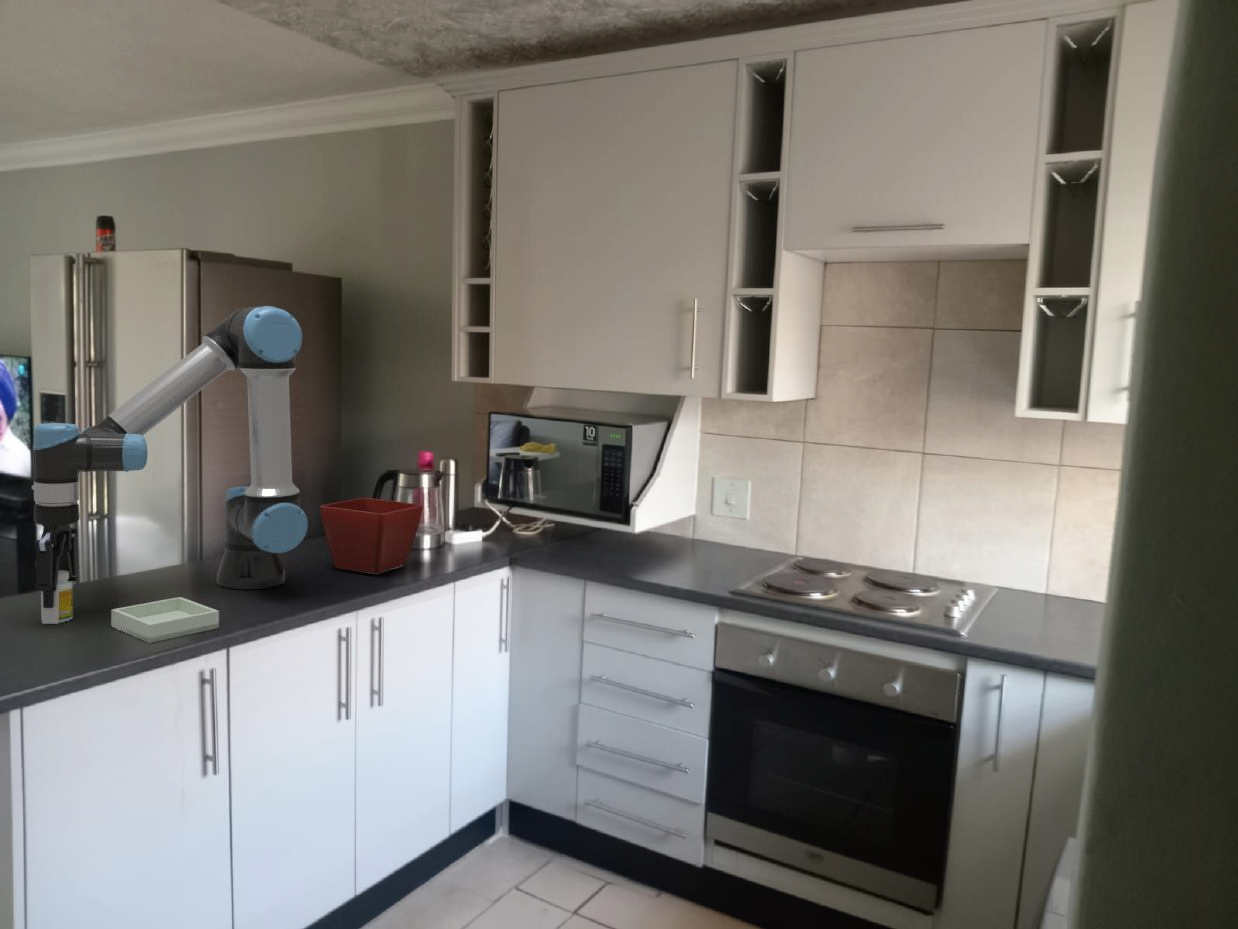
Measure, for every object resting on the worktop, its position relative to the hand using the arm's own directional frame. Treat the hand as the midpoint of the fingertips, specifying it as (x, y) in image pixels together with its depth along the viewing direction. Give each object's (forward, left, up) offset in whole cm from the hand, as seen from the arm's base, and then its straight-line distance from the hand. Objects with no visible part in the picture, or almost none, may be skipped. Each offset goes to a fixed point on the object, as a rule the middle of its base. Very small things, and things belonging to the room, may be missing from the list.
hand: (57, 618), depth 181 cm
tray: (-12, +18, 0) cm, 22 cm away
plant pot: (-74, +5, -1) cm, 74 cm away
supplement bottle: (0, 0, 0) cm, 0 cm away
